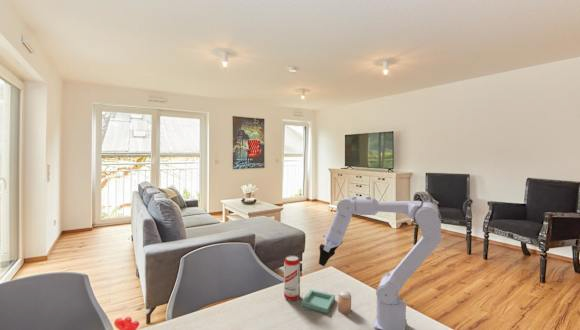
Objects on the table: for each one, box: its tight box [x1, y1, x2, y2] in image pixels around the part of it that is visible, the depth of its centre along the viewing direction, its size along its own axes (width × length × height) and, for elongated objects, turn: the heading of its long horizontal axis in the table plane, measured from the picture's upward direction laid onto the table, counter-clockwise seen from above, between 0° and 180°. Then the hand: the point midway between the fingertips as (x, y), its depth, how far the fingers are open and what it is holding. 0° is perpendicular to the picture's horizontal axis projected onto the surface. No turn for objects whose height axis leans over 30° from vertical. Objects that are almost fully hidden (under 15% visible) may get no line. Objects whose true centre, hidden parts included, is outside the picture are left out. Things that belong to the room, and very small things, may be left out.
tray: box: [300, 289, 336, 315], centre depth 105 cm, size 10×10×2 cm
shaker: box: [337, 290, 352, 315], centre depth 101 cm, size 5×5×6 cm
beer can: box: [283, 254, 301, 302], centre depth 109 cm, size 6×6×16 cm
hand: (324, 260), depth 103 cm, fingers open, 7 cm apart
